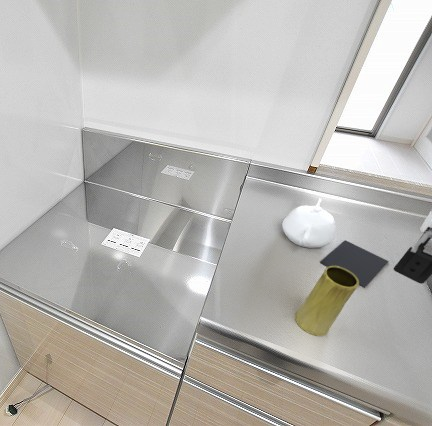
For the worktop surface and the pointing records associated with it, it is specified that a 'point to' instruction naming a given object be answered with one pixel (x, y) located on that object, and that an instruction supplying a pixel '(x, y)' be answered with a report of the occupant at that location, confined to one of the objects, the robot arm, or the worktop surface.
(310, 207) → the white garlic bulb
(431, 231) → the robot arm
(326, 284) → the vase
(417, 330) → the worktop surface
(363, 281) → the mat
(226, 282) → the worktop surface
